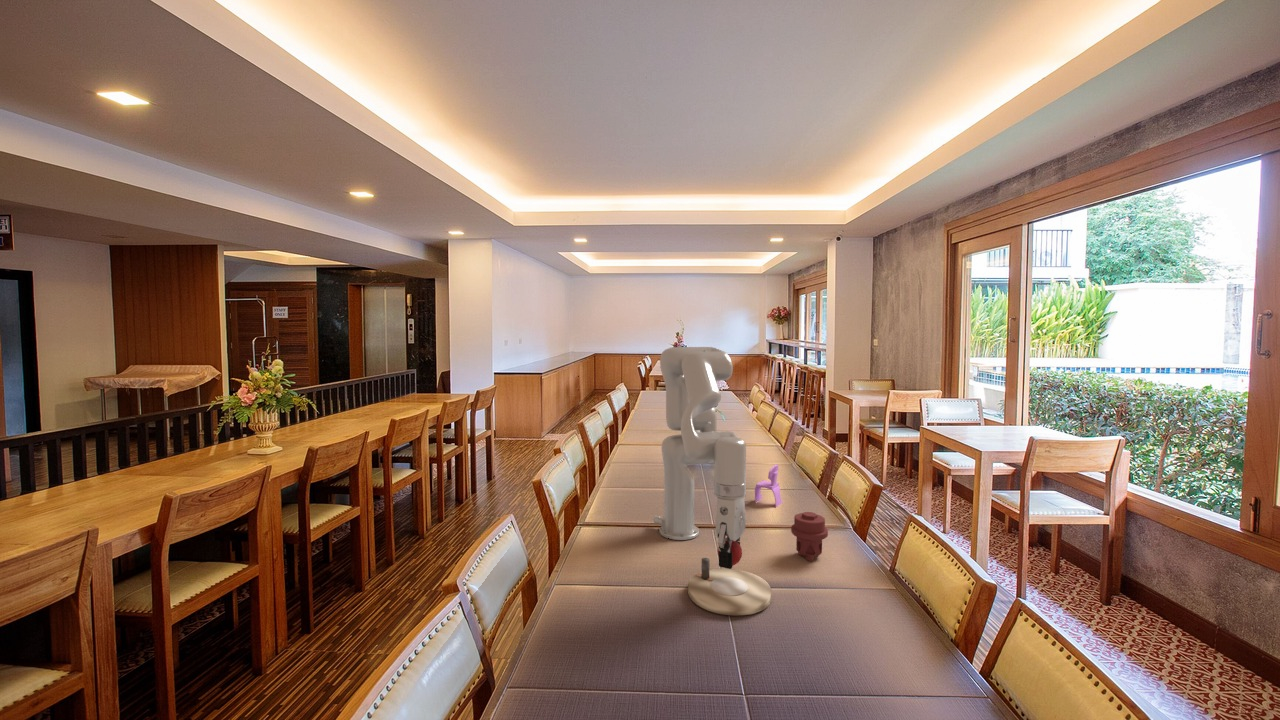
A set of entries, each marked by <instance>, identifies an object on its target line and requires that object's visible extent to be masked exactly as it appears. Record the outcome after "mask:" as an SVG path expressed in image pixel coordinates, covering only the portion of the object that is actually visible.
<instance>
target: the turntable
mask: <svg viewBox="0 0 1280 720" xmlns="http://www.w3.org/2000/svg"><path fill="white" fill-rule="evenodd" d="M710 561H711V560H710V558H708V557H702V558H701V571H700V572H698V573H696V574H694V575H693V576H692V577H690V578H689V580H688V583H687V593H688V596H689V598H690V600H691V601H692V602H693V603H694V604H695V605H696V606H698V607H700V608H702V609H704V610H706V611H708V612H712V613H714V614H718V615H725V616H747V615H753V614H757V613H759V612H762V611H763V610H765V609H767V607H769V605H770V604H771V602H772V588H771V586H770V584H769V583H768V582H767V581H766V580H765V579H764V578H762V577H760V576H759V575H756V574H754V573H752V572H748V571H745V570H741V569H737V568H736V569H735V568H732V569H728V568H712V569H711V568H710Z"/></svg>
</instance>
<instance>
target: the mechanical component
mask: <svg viewBox="0 0 1280 720" xmlns="http://www.w3.org/2000/svg"><path fill="white" fill-rule="evenodd" d="M793 519H794V520H793V521H794V522H793V523H794V524H792V525H791V526H790V528H791V530H790V532H791V534H792V535H793V536H794V537H796V544H795V545H796V546H795V547H796V548H795V549H796V551H797V554H798V555H801V556H802V557H804V558H805V559H806V560H807V561H809V562H812V561H814V558H816V557H818V556H820V555H822V553H823V540H825V539H826V538H828V536H829V529H828V528H827V527H826V519H825V517H824V516H822V515H819V514H817V513H815V512H812V511H805V512H801V513H796V514H795V515H794V517H793Z"/></svg>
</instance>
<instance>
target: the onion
mask: <svg viewBox="0 0 1280 720" xmlns="http://www.w3.org/2000/svg"><path fill="white" fill-rule="evenodd" d="M726 538H728V539H729V536H726ZM728 542H729V541H725V543H726V544H727V545H728ZM738 542H739V541H738ZM738 542H737V541H733V540H732V546H731V552H732V567H734V566H735V565H737V564H739V562H740V561H741V559H742V558H743V551H742V550H743V549H742V546H741V543H740V544H739V543H738ZM717 555H718V557H719V546H718V547H717Z"/></svg>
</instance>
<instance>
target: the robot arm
mask: <svg viewBox="0 0 1280 720" xmlns="http://www.w3.org/2000/svg"><path fill="white" fill-rule="evenodd" d="M659 365H660V372H661V375H662V377H663V381H664V384H665V420H666V421H665V422H666V424H667V427H668V429H670V430H672V431H678V432H680V434H671V435H669V436H666V437H665V438H664V439H663V440H662V442H661V455H662V462H663V472H664V476H663V477H664V483H663V484H664V491H663V492H664V497H663V498H664V499H663V500H664V504H663V505H664V509H663V510H664V515H663V516H660V515H654V516H653V519H652V520H653V524H655V525H660V526H661V527H659V534H660V535H661V536H662V537H664V538H666V539H668V538H669V539H668V540H674V541H685V540H686V541H687V540H691V539H695V538H697V537H698V536H699V535H700V529H699V527H698V526H696V525H695V478H694V475H693V474H692V472H691V471H690V469H688V467H687V466H691V465H704V464H710V463H713V462H714V469H713V471H714V473H713V474H714V477H713V478H714V479H713V481H714V483H713V485H714V486H713V487H714V488H713V489H714V493H713V495H714V496H715V497H717V498H716V499H717V500H716V508H715V510H716V512H715V513H716V514H715V536H716V538H717V544H718V545H717V546H718V547H719V556H718V568H719V567H720V568H722V569H733V566H732V552H731V546H732V540H733V541H737V542H738V543H739V544H740V545H741V536H742V535H743V533H744V532H745V530H746V504H745V498H746V495H747V493H746V491H747V490H746V489H747V486H746V485H747V444H746V442H745V440H744V439H742V438H740V437H738V435H737V434H736V433H735V432H734V431H730V430H729V431H723V430H722V431H717V424H718V423H717V411H716V407H717V406H718V405H719V404H720V402H721V399H722V396H721V392H720V389H719V385H718V381H719V382H720V381H722V382H723V381H728V380H729V379H730V378H731V377H732V375H733V370H734V365H733V363H732V359H731V357H730V355H729V354H728V353H727V352H726V351H724V350H723V349H722V350H721V349H720V348H717V347H712V346H675V347H674V346H673V347H669V348H666V349H664V350H663V351H662V353H660V361H659ZM697 431H699V432H697ZM727 536H729V539H728V538H727ZM725 541H729V542H728V545H727V544H726V543H725Z"/></svg>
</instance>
